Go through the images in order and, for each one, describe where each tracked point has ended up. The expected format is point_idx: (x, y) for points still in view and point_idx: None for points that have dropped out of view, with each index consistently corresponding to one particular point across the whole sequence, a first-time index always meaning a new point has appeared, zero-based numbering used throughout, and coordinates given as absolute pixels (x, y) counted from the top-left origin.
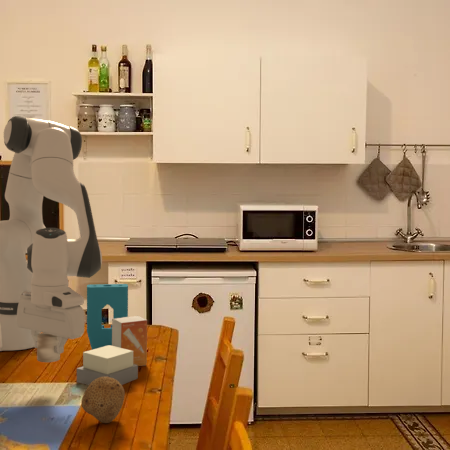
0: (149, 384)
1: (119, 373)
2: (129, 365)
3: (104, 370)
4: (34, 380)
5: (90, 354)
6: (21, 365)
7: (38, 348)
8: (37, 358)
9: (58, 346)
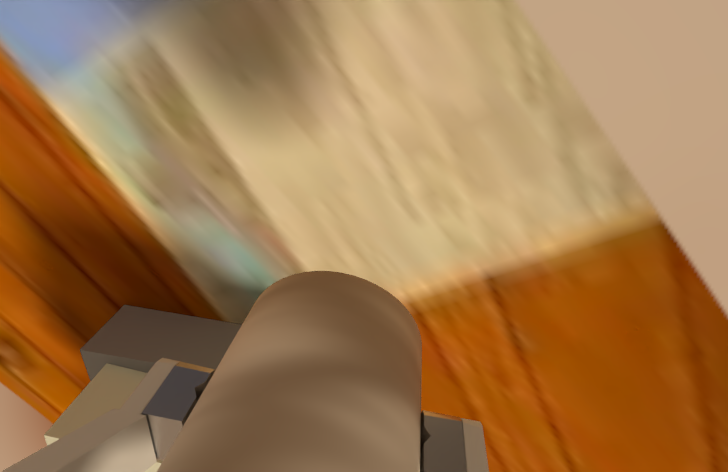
0: (71, 388)
1: None
2: None
3: (117, 380)
4: (508, 296)
5: None
6: (694, 428)
7: (347, 365)
8: (383, 300)
9: (113, 412)
